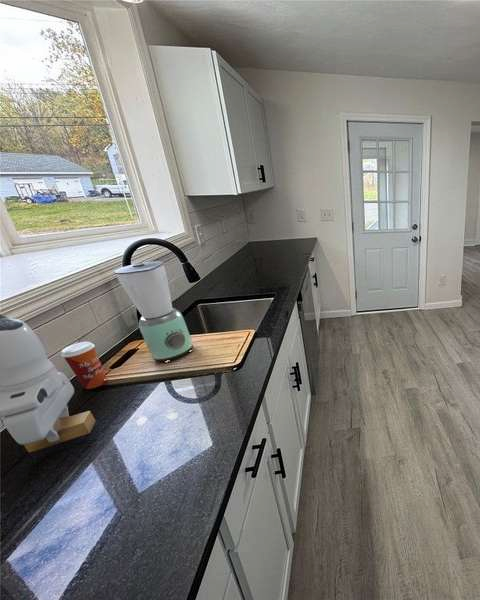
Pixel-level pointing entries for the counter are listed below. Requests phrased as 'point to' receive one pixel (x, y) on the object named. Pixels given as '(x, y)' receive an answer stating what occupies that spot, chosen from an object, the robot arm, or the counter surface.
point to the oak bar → (67, 430)
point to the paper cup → (85, 364)
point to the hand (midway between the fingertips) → (60, 431)
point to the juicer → (156, 310)
